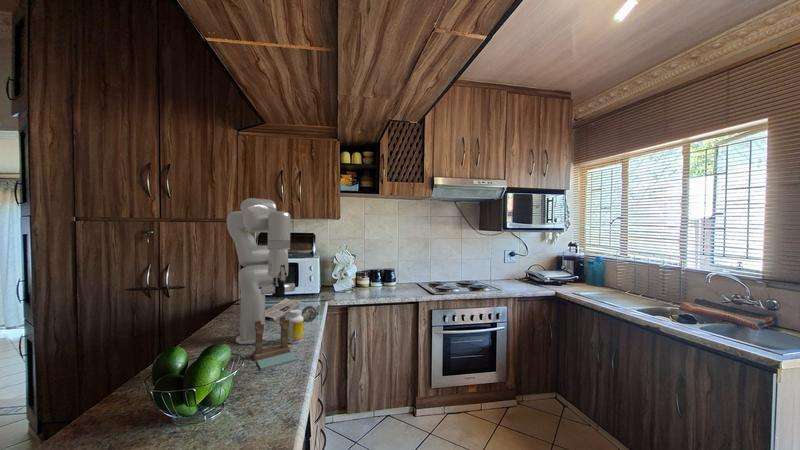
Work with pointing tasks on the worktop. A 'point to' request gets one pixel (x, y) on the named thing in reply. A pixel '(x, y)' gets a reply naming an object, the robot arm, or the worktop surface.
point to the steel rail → (271, 288)
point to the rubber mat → (276, 360)
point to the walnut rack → (273, 350)
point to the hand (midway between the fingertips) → (278, 295)
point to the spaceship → (310, 312)
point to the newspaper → (281, 308)
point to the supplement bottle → (295, 327)
